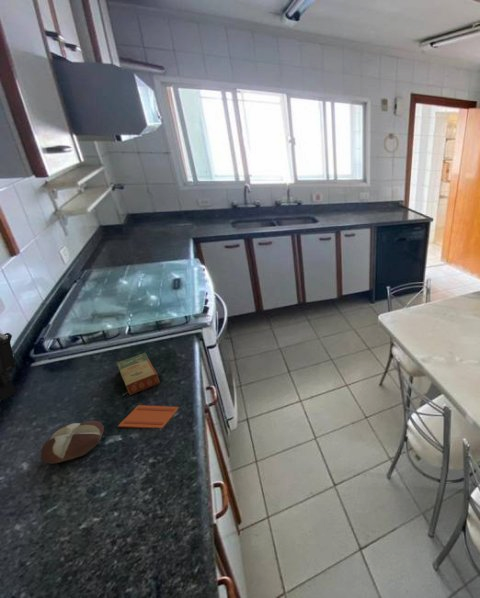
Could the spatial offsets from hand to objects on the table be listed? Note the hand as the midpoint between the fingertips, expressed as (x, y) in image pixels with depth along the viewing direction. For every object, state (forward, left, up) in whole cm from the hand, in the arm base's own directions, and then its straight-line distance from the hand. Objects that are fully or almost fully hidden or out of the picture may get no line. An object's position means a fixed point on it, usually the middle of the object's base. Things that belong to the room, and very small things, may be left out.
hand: (7, 395), depth 77 cm
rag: (+22, +11, -16) cm, 29 cm away
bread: (+11, 0, -16) cm, 19 cm away
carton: (+8, +27, -16) cm, 32 cm away
